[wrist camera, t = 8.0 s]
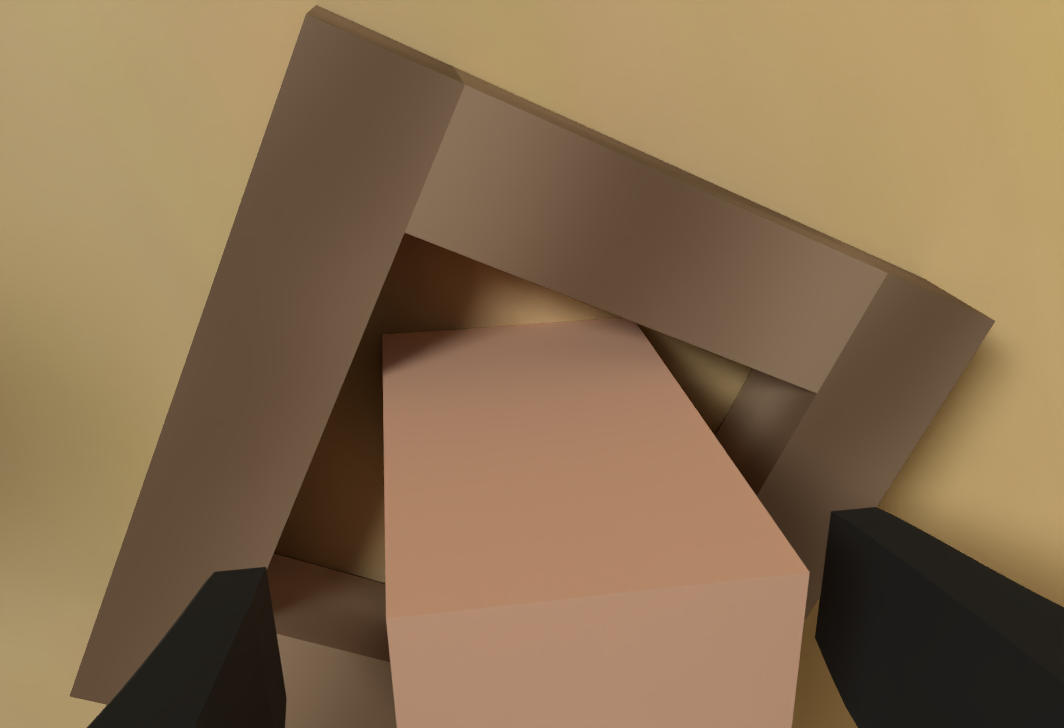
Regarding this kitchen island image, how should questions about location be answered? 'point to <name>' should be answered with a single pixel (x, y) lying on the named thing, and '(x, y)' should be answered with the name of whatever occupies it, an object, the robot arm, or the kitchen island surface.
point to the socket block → (529, 253)
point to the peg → (574, 541)
